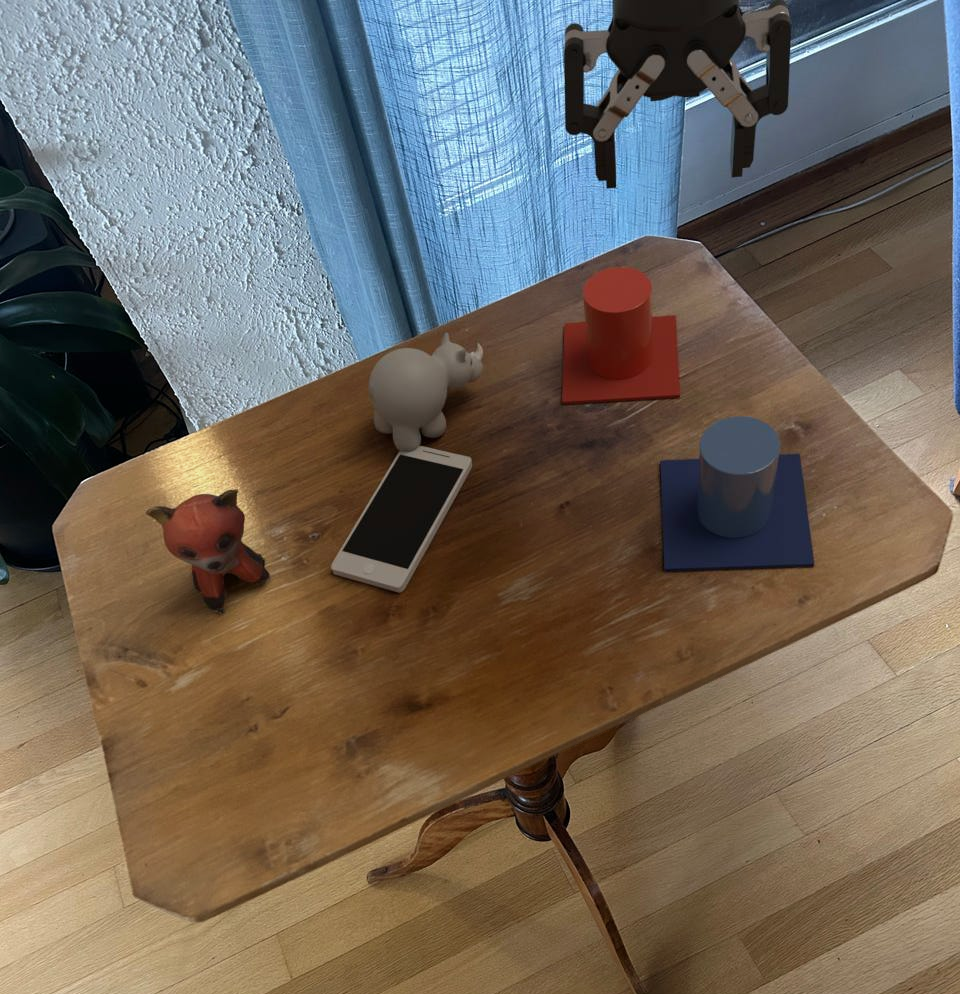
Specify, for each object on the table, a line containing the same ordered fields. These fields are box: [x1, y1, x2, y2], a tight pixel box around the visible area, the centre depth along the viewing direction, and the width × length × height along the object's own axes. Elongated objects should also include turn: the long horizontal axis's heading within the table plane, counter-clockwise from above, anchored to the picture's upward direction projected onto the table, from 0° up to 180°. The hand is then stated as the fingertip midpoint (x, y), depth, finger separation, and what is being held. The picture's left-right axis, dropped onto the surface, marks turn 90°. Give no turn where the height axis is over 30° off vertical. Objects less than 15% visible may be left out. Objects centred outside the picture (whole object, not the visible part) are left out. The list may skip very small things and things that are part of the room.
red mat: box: [561, 314, 681, 406], centre depth 99 cm, size 11×11×1 cm
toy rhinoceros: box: [368, 332, 484, 452], centre depth 96 cm, size 7×12×8 cm, turn 123°
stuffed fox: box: [145, 488, 271, 615], centre depth 88 cm, size 8×11×12 cm
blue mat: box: [660, 453, 815, 572], centre depth 87 cm, size 12×12×1 cm
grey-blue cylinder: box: [697, 415, 781, 538], centre depth 84 cm, size 6×6×8 cm
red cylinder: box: [582, 266, 653, 379], centre depth 96 cm, size 6×6×8 cm
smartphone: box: [330, 445, 473, 594], centre depth 92 cm, size 7×15×1 cm, turn 156°
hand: (673, 176), depth 71 cm, fingers open, 8 cm apart
